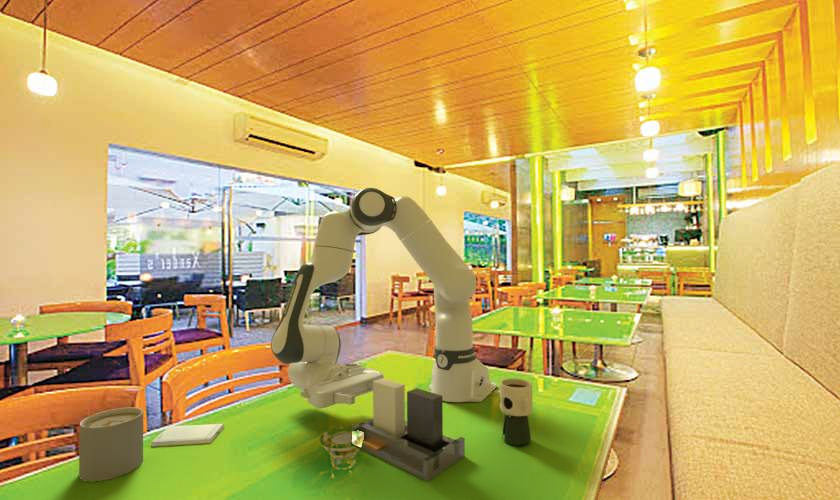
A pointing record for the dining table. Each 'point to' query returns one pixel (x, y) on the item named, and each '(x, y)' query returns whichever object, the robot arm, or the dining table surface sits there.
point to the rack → (416, 438)
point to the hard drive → (187, 435)
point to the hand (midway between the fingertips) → (368, 394)
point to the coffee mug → (110, 443)
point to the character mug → (516, 409)
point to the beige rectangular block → (389, 406)
